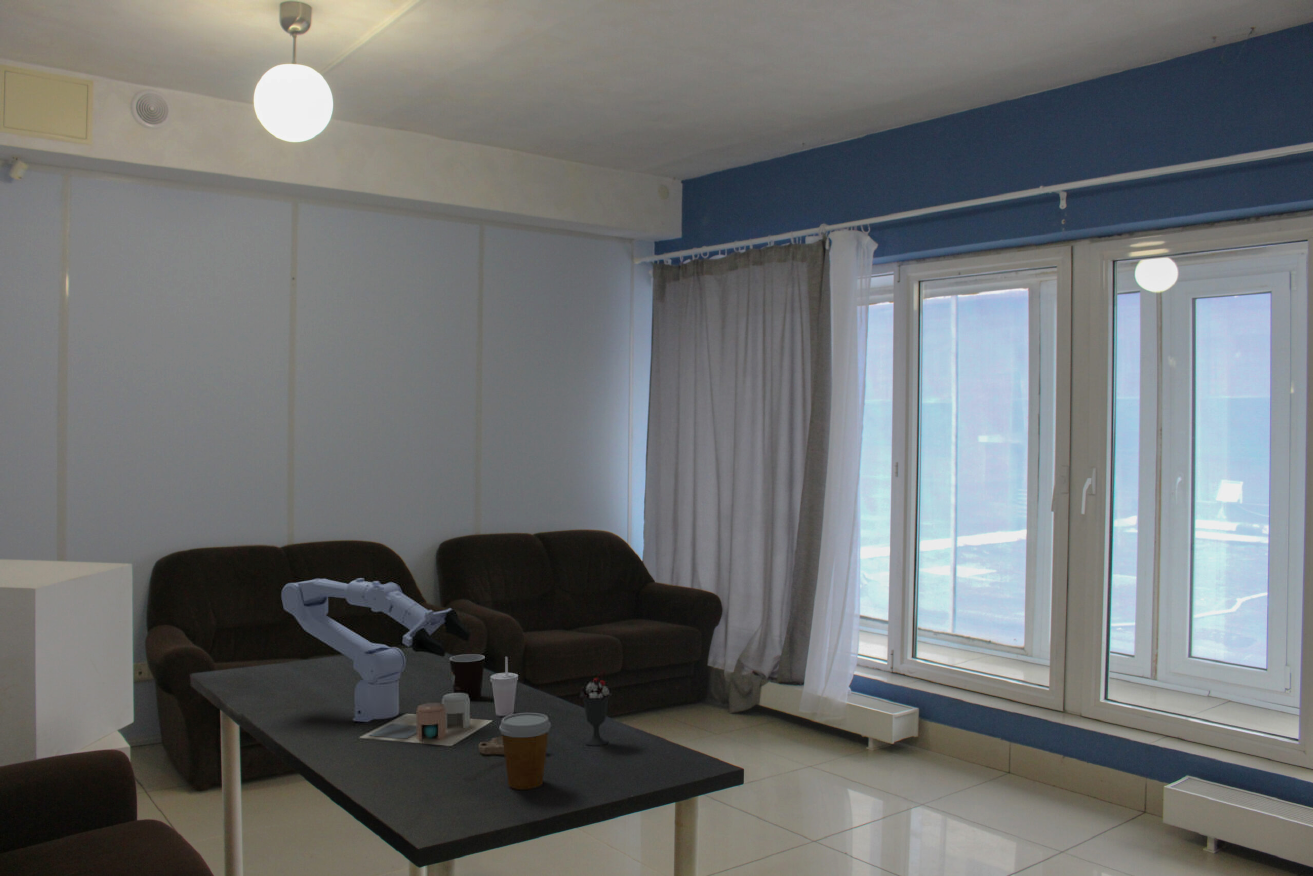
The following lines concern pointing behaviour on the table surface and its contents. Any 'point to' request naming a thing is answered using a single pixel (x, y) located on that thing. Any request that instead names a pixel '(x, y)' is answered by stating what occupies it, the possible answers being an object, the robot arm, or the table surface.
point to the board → (407, 732)
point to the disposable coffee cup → (525, 748)
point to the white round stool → (457, 708)
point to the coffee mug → (467, 674)
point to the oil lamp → (492, 746)
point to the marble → (431, 730)
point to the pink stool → (431, 719)
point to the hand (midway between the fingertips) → (456, 644)
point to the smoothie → (504, 691)
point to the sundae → (596, 708)
